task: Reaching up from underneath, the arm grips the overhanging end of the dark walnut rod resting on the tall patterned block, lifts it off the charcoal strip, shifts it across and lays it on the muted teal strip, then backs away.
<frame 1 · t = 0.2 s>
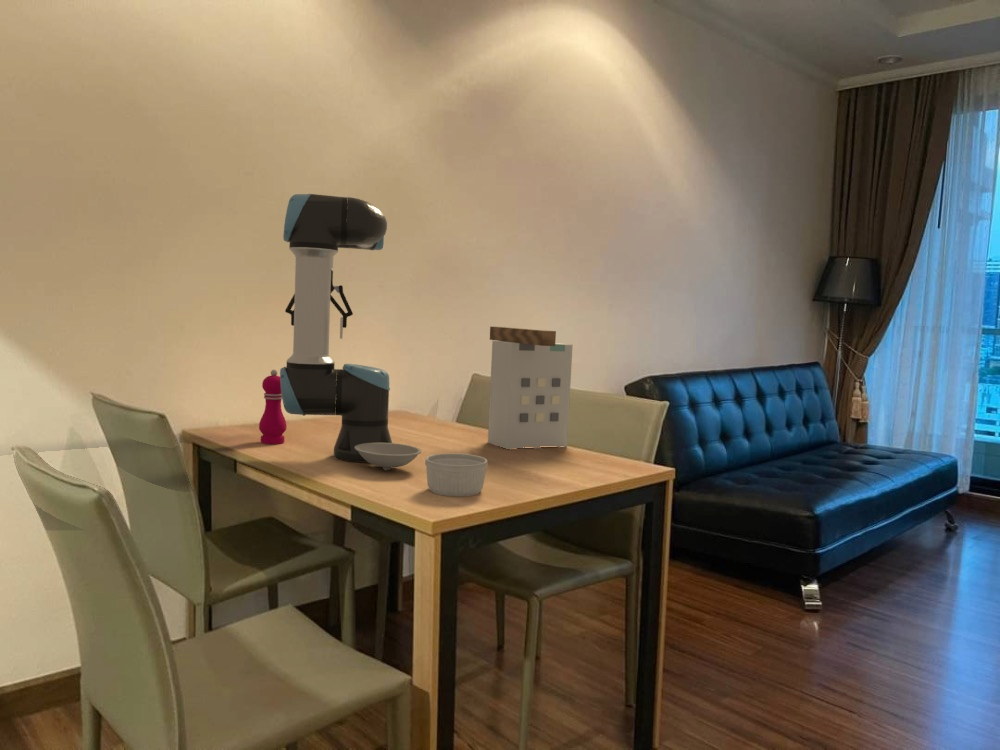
hand: (318, 337, 241), 28 cm above the table, tool pointing down, fingers open, 13 cm apart
dish: (387, 470, 184), on the table
ramekin: (455, 492, 165), on the table
pepper mill: (272, 443, 212), on the table
walnut rod: (520, 342, 222), point 30 cm above the table, touching tall patterned block
tall patterned block: (527, 444, 228), on the table
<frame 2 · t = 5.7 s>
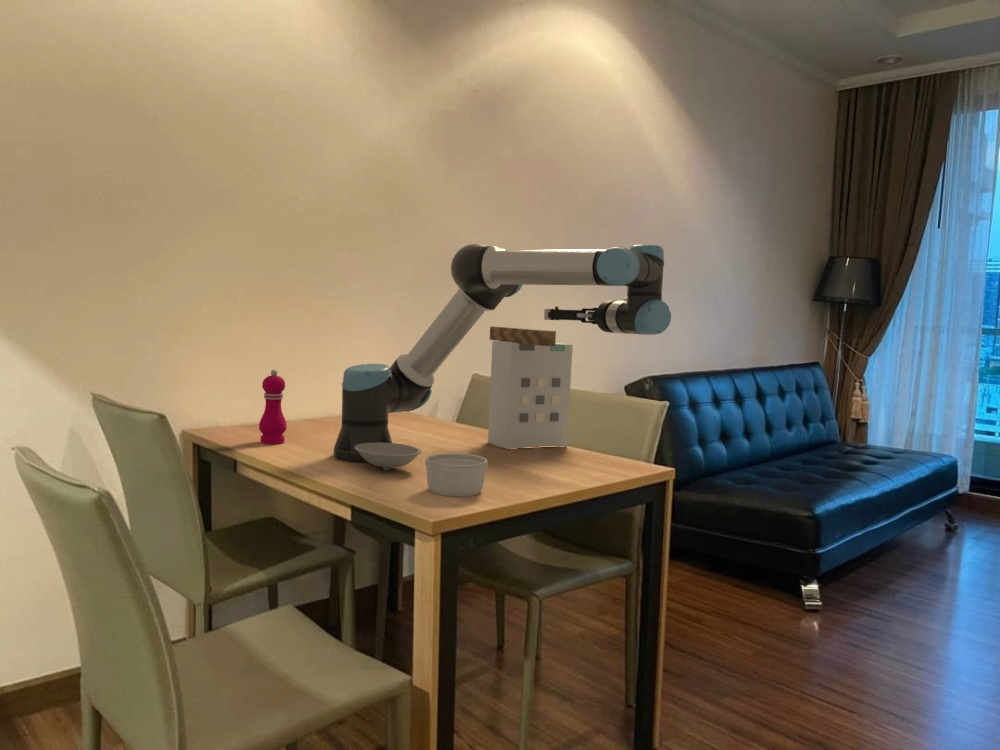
hand: (568, 315, 199), 38 cm above the table, tool horizontal, fingers open, 13 cm apart
nothing on the table moved.
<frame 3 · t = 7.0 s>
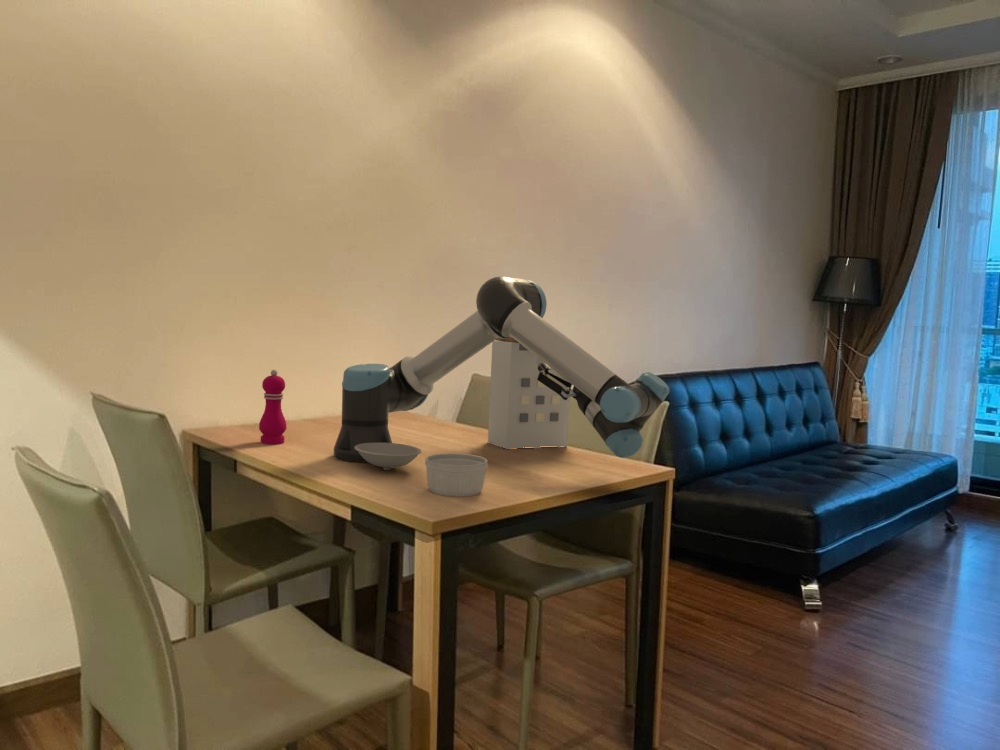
hand: (560, 358, 202), 27 cm above the table, tool pointing upward, fingers open, 13 cm apart
nothing on the table moved.
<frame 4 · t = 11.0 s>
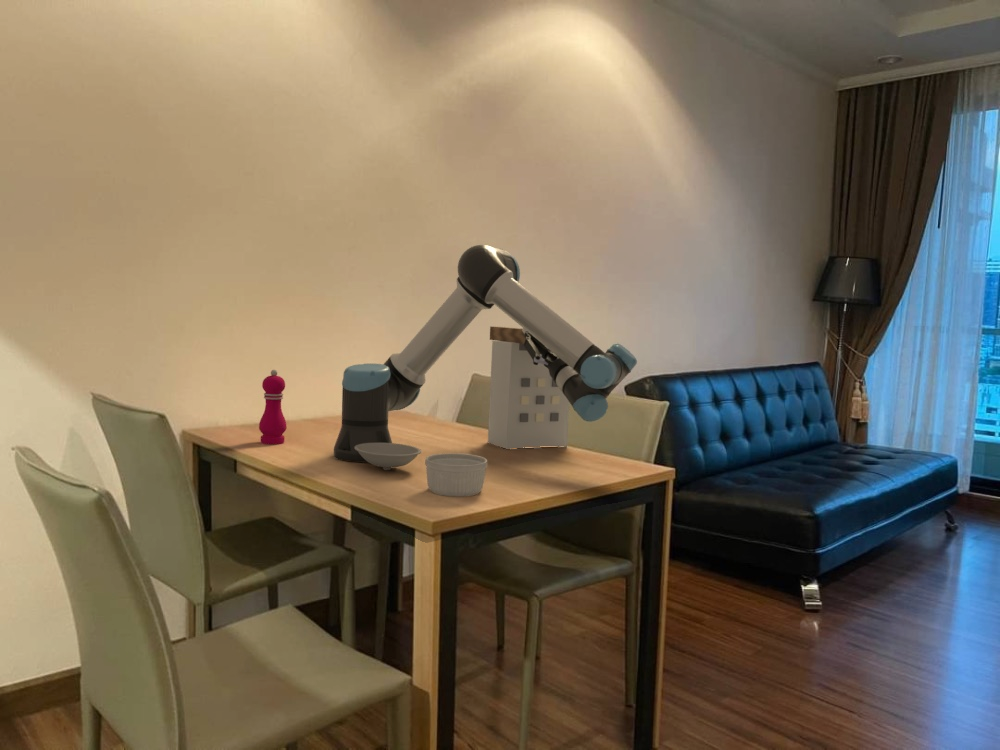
hand: (532, 327, 216), 35 cm above the table, tool pointing upward, fingers closed on walnut rod, 4 cm apart
walnut rod: (520, 342, 222), point 30 cm above the table, touching gripper, tall patterned block
everything else where it was.
when the fingers open (36 cm above the table, at t = 16.8 s): walnut rod stays where it is, resting on tall patterned block.
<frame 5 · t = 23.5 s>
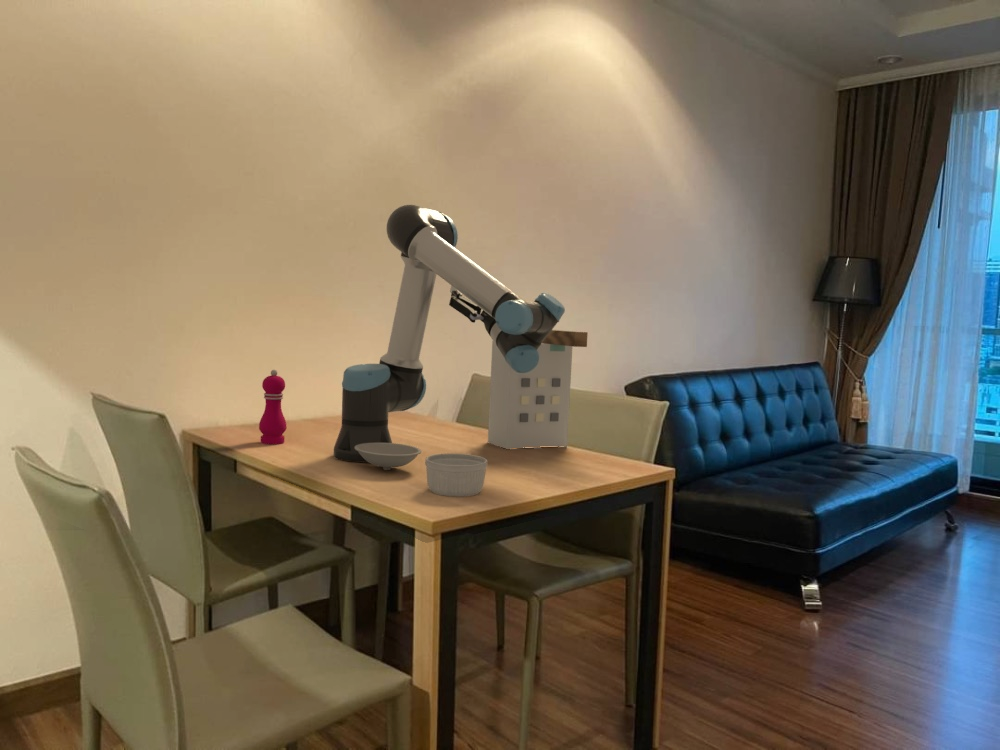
hand: (474, 288, 215), 45 cm above the table, tool pointing upward, fingers open, 13 cm apart
walnut rod: (550, 343, 226), point 30 cm above the table, touching tall patterned block
everything else where it was.
at the end: walnut rod inside the target area on the tall patterned block (0.2 cm from its centre), point 30.0 cm above the tall patterned block's base; the gripper is holding nothing; walnut rod tilted 0° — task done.
